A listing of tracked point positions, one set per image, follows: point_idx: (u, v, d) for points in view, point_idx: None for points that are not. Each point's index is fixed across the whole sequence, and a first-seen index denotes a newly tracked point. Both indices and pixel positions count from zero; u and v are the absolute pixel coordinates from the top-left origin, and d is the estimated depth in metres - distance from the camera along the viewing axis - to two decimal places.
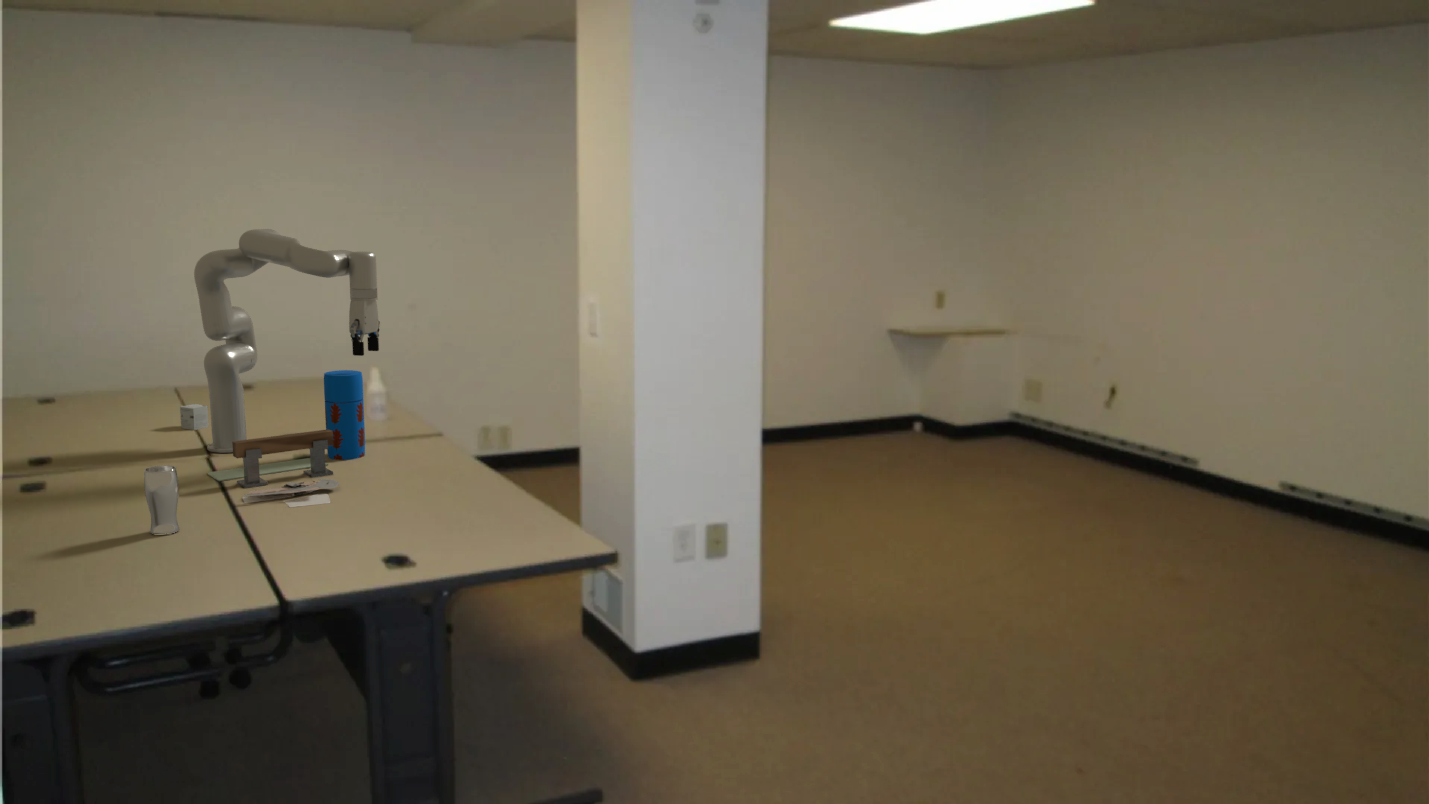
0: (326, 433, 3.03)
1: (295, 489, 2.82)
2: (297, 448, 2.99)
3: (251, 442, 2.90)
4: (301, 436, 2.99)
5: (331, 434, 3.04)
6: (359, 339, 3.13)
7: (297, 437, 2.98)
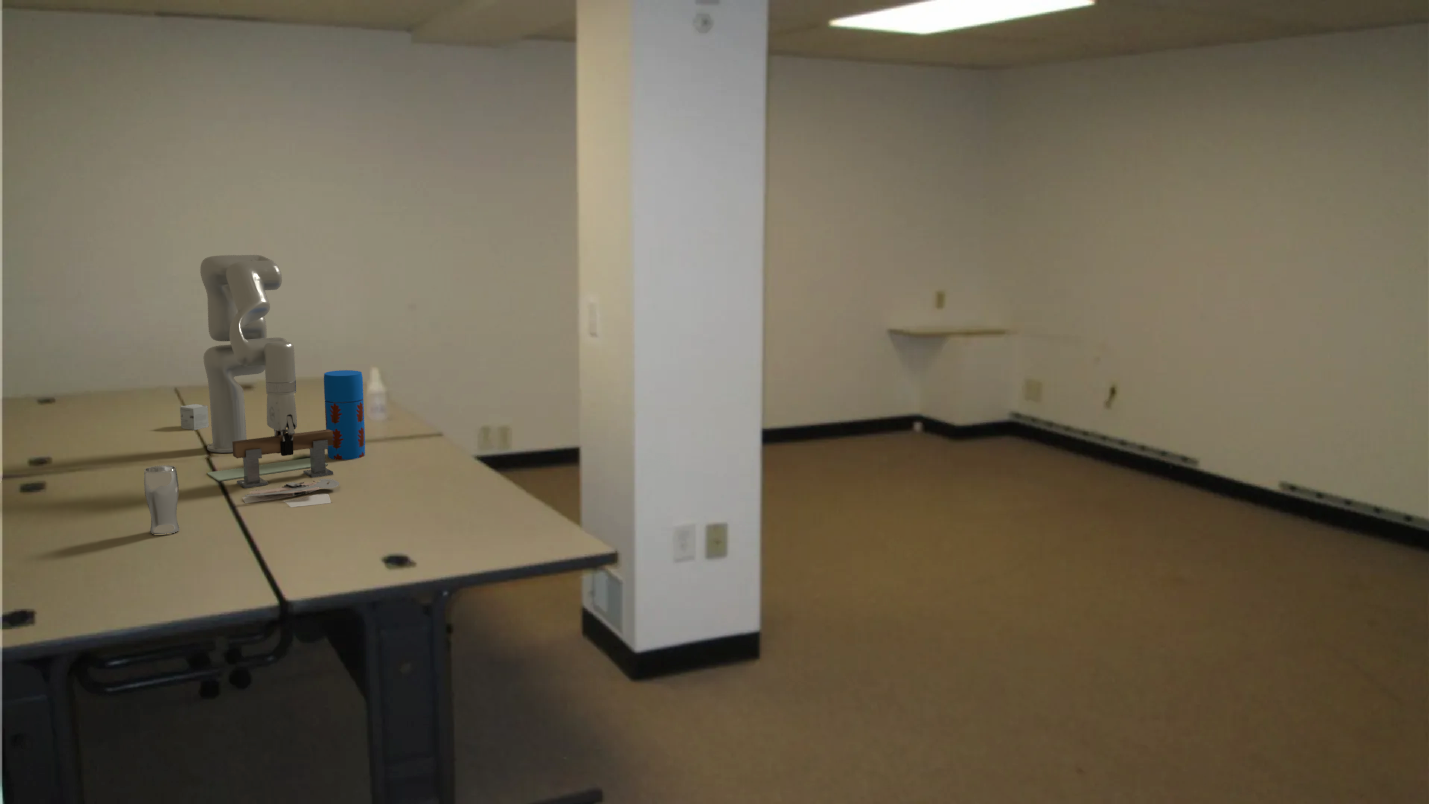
0: (326, 433, 3.03)
1: (295, 489, 2.82)
2: (297, 448, 2.99)
3: (251, 442, 2.90)
4: (301, 436, 2.99)
5: (331, 434, 3.04)
6: (292, 438, 2.96)
7: (297, 437, 2.98)
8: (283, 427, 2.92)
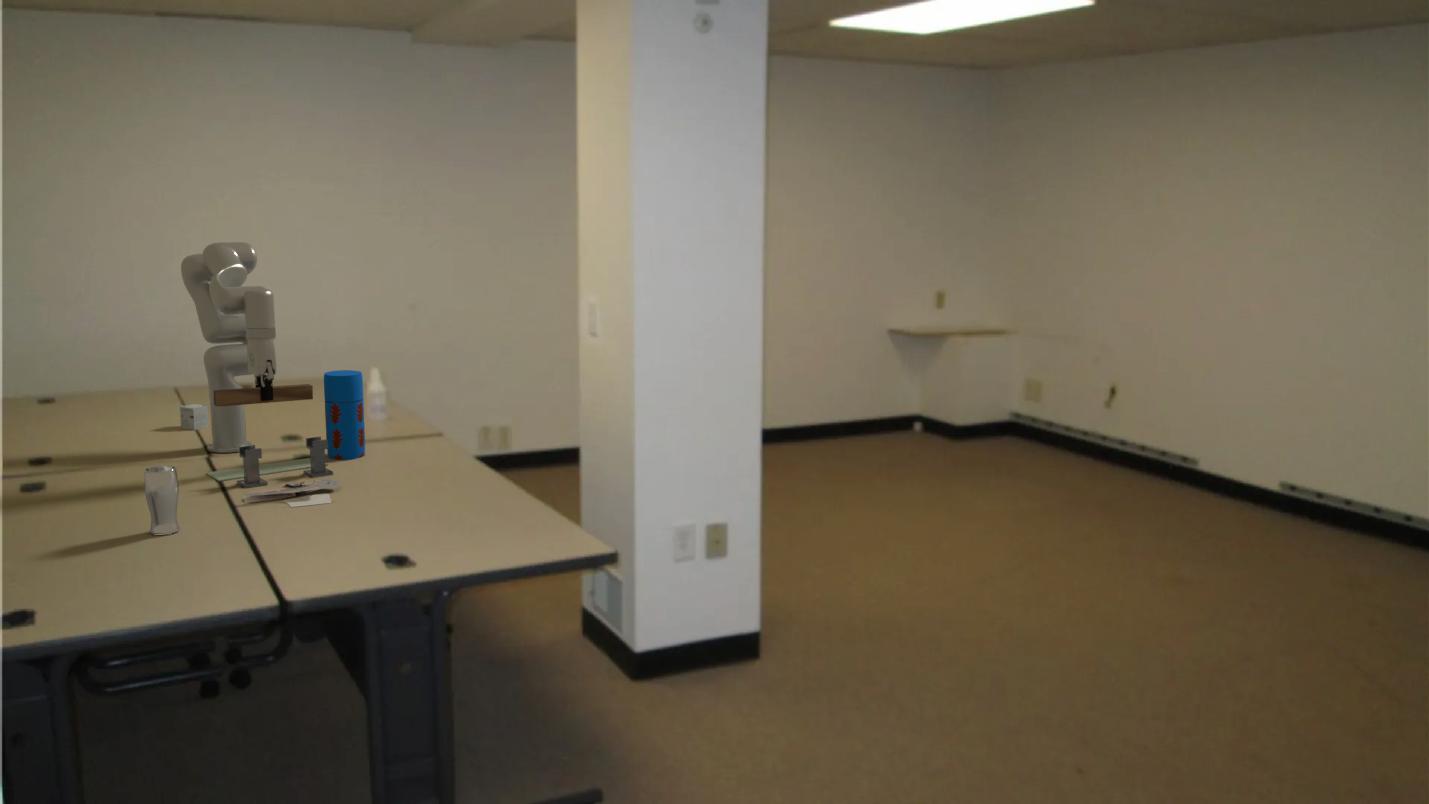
0: (306, 387, 3.11)
1: (296, 489, 2.82)
2: (277, 400, 3.06)
3: (232, 391, 2.97)
4: (281, 388, 3.06)
5: (311, 388, 3.12)
6: None
7: (277, 389, 3.06)
8: (263, 372, 2.99)
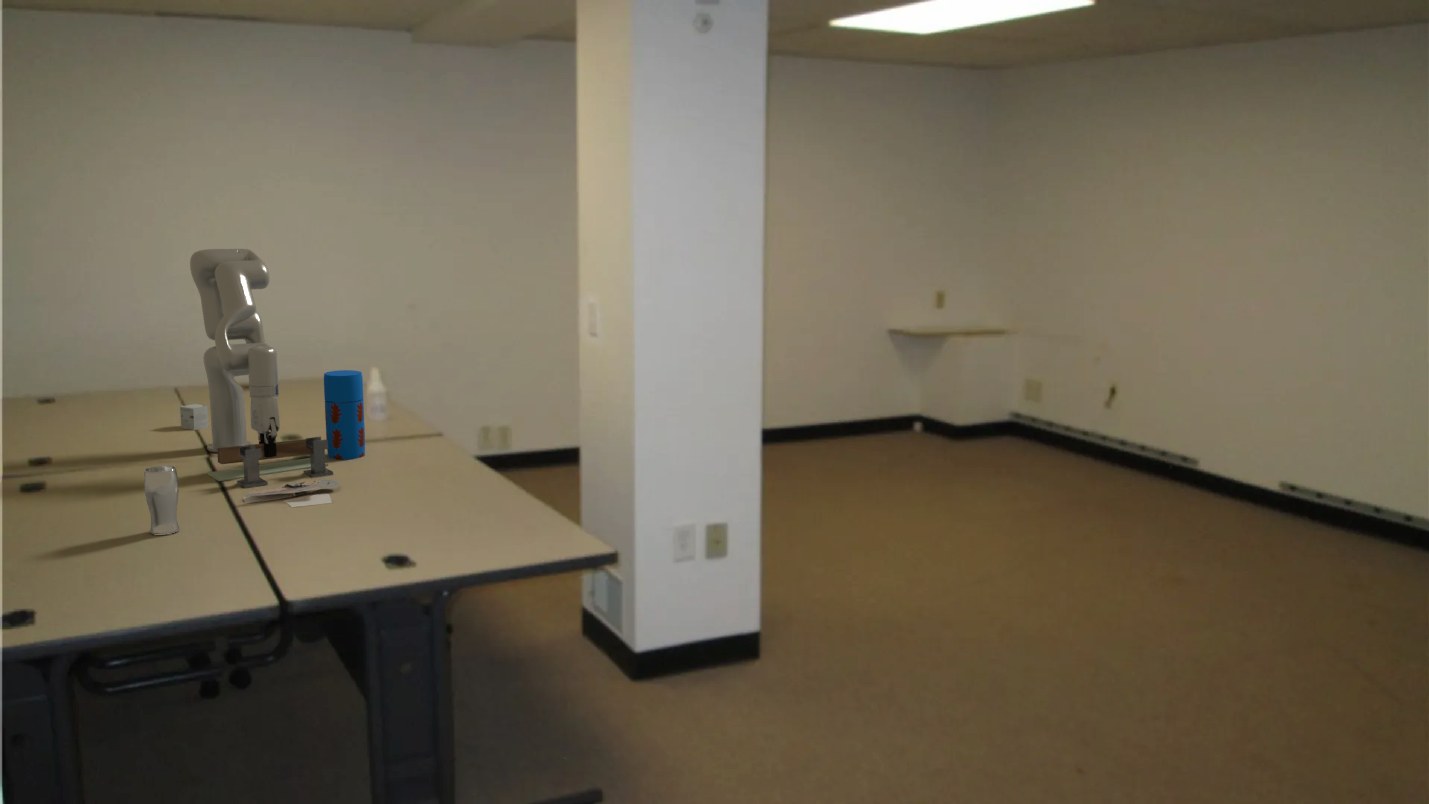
0: None
1: (296, 489, 2.82)
2: (280, 456, 3.09)
3: (235, 449, 3.00)
4: (284, 444, 3.09)
5: None
6: (274, 440, 3.06)
7: (280, 445, 3.08)
8: (266, 429, 3.02)
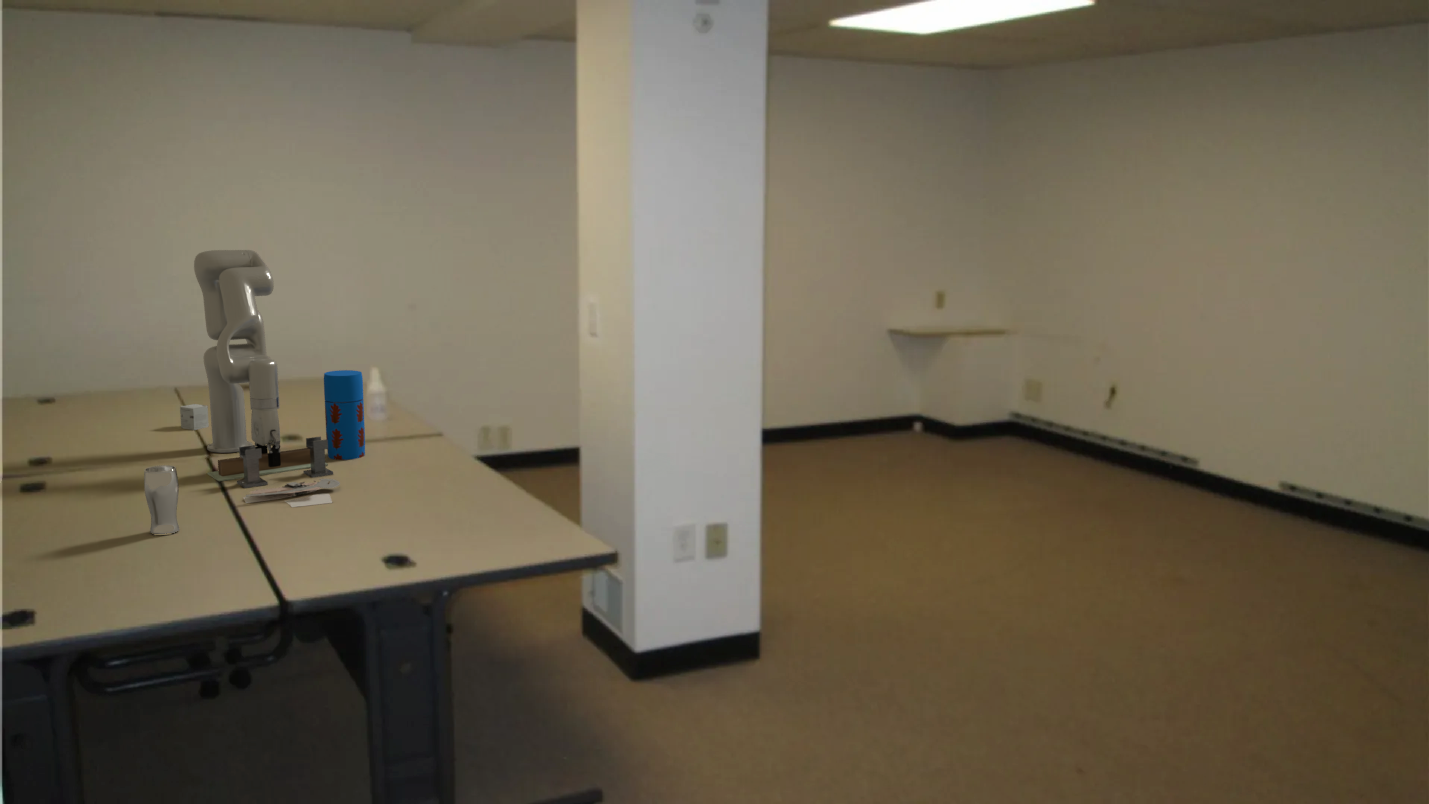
0: (309, 451, 3.14)
1: (296, 489, 2.82)
2: (281, 466, 3.09)
3: (236, 461, 3.01)
4: (285, 454, 3.10)
5: None
6: (279, 449, 3.04)
7: (281, 455, 3.09)
8: (267, 442, 3.02)
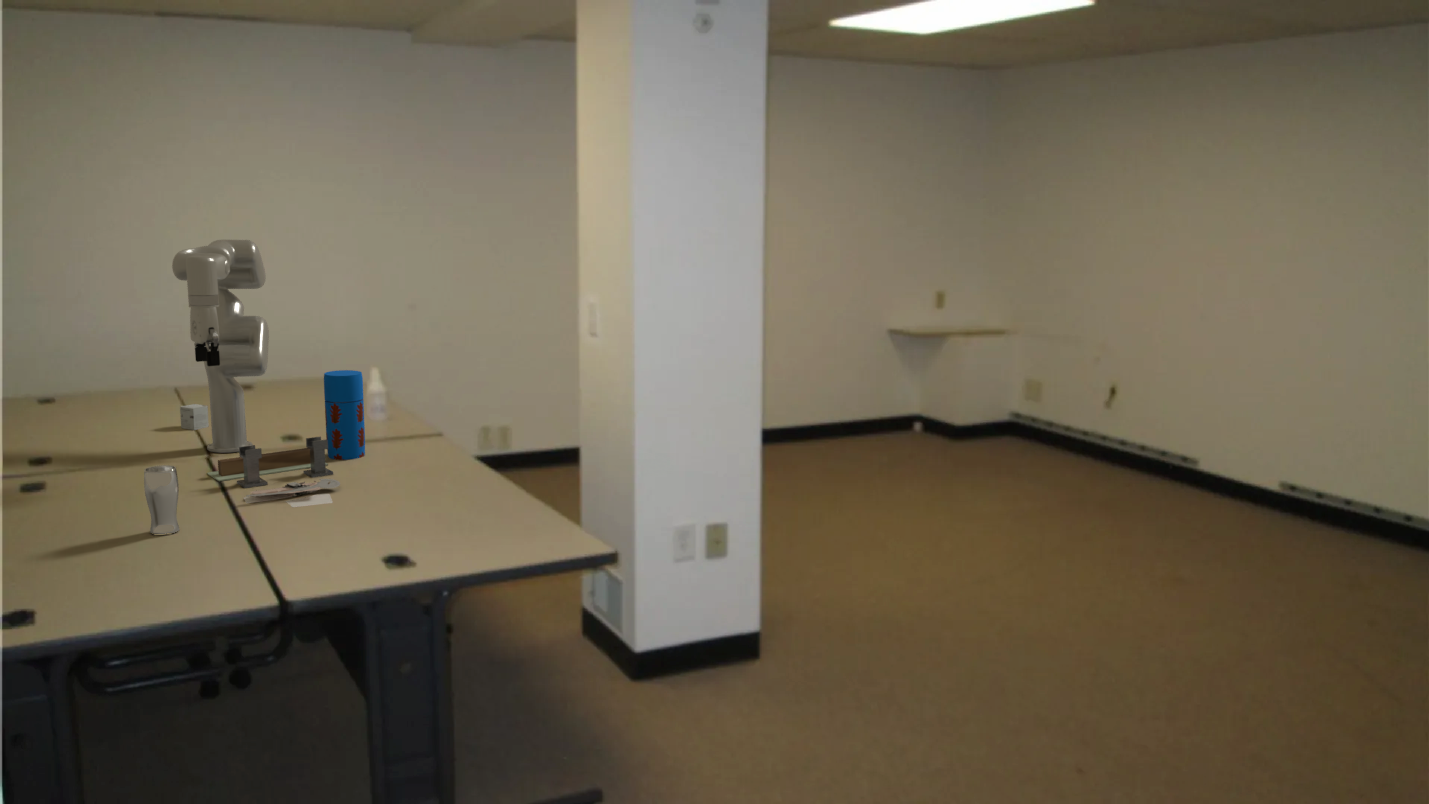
0: (309, 451, 3.14)
1: (297, 489, 2.83)
2: (281, 466, 3.09)
3: (236, 461, 3.01)
4: (285, 454, 3.10)
5: None
6: (218, 348, 2.97)
7: (281, 455, 3.09)
8: (205, 340, 2.95)
